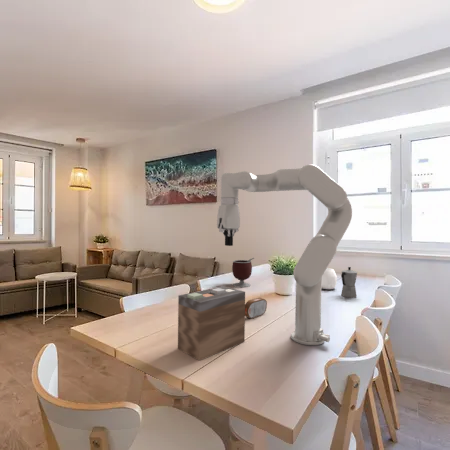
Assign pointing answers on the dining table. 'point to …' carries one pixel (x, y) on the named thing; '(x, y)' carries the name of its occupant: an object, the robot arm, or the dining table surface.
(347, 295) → the coffeepot
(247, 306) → the tin
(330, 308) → the dining table surface
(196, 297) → the sage key
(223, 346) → the console
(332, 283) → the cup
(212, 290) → the grey key
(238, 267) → the mate gourd
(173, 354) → the dining table surface
